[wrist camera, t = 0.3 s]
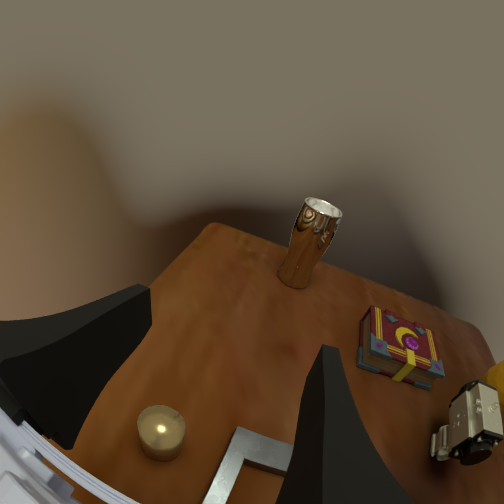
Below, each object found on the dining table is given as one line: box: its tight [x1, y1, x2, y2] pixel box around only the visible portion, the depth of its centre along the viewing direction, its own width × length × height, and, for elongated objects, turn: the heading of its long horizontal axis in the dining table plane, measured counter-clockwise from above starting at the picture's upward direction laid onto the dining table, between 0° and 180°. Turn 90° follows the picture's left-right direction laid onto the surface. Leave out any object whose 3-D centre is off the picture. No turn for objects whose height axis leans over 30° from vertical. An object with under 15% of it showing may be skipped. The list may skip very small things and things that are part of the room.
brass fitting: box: [137, 405, 186, 462], centre depth 21 cm, size 4×4×6 cm
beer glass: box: [278, 198, 342, 289], centre depth 49 cm, size 7×7×15 cm
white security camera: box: [430, 380, 503, 465], centre depth 23 cm, size 6×12×12 cm, turn 154°
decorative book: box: [357, 305, 445, 390], centre depth 40 cm, size 11×16×5 cm
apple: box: [480, 361, 504, 413], centre depth 30 cm, size 10×10×12 cm
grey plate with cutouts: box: [201, 426, 294, 504], centre depth 19 cm, size 12×14×2 cm
